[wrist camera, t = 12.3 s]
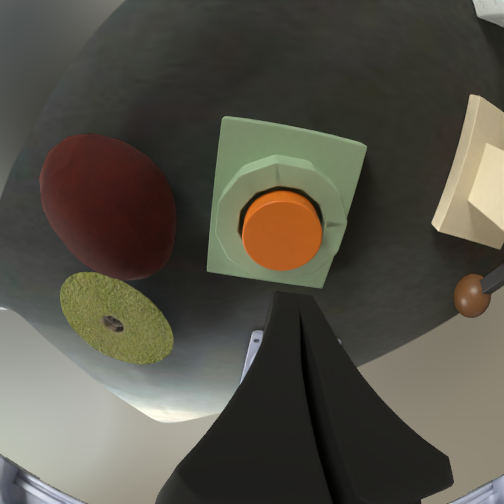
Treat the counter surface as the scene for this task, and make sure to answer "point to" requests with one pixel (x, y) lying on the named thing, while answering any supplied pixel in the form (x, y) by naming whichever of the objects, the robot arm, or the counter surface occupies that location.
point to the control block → (280, 178)
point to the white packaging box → (490, 10)
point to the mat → (116, 318)
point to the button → (281, 230)
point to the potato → (109, 205)
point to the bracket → (476, 179)
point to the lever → (477, 292)
